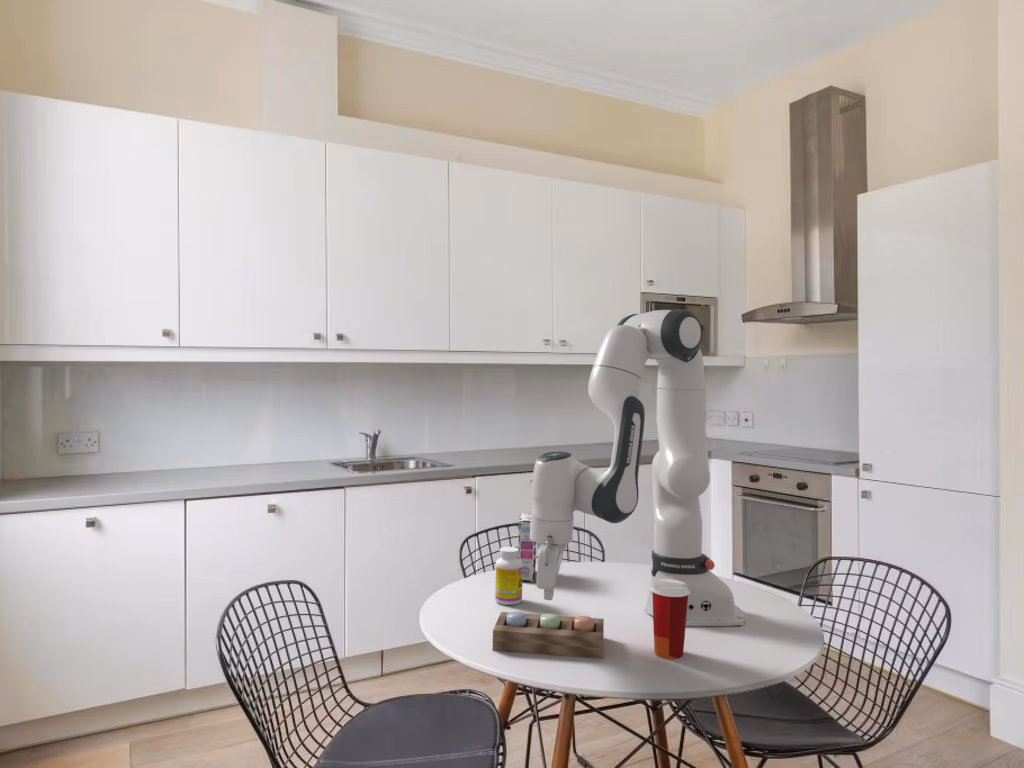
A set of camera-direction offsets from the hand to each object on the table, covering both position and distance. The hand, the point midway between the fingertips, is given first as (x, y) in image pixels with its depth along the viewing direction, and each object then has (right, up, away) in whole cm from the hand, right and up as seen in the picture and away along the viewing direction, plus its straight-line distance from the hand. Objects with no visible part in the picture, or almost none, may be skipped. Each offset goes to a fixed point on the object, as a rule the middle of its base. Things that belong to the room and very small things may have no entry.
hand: (548, 598), depth 142 cm
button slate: (-7, -6, +1) cm, 9 cm away
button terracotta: (+7, -7, -1) cm, 10 cm away
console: (0, -10, 0) cm, 10 cm away
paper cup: (+24, -10, -3) cm, 26 cm away
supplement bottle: (-8, -9, +26) cm, 29 cm away
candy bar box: (-4, -9, +48) cm, 49 cm away
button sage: (0, -7, 0) cm, 7 cm away
